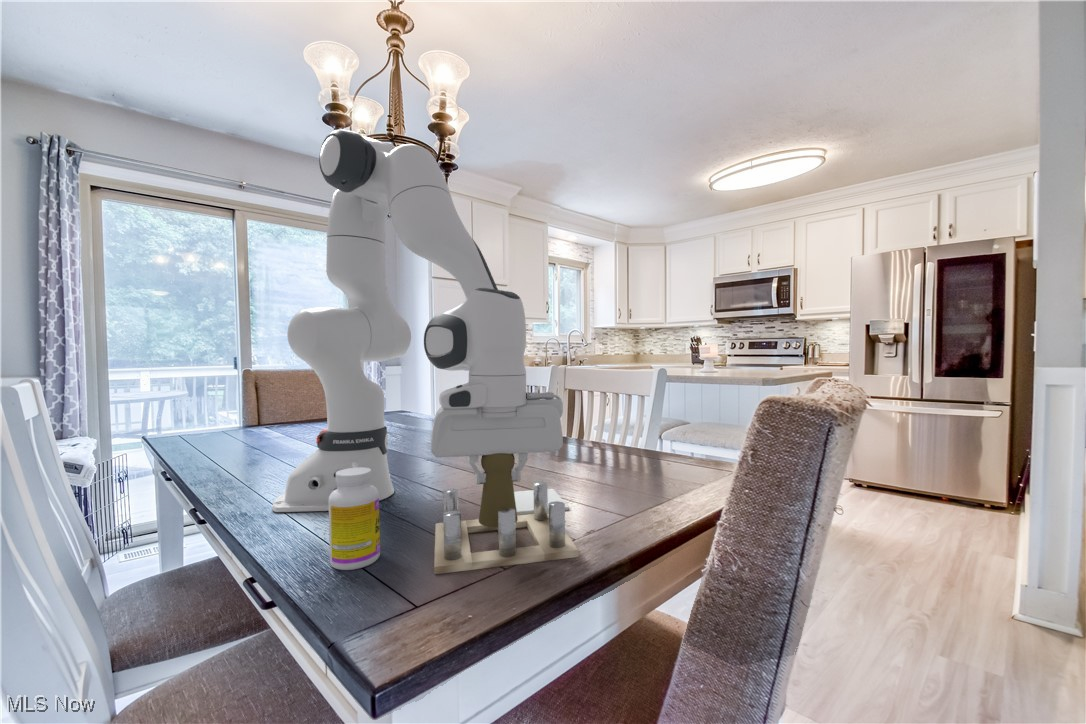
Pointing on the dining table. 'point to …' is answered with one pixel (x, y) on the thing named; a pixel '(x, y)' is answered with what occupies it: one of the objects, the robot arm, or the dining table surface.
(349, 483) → the supplement bottle
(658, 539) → the dining table surface
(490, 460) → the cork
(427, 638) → the dining table surface
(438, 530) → the board
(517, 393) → the robot arm
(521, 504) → the mat
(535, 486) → the steel spacers
